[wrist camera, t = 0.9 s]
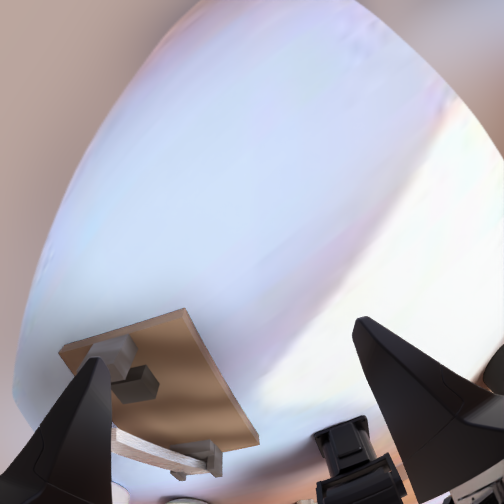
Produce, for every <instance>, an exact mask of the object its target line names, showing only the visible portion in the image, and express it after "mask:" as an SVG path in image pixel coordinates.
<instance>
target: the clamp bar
mask: <svg viewBox="0 0 504 504" xmlns="http://www.w3.org/2000/svg"><path fill="white" fill-rule="evenodd" d="M111 452H113V453H116V454H118V455H121V456H124V457H127V458H130V459H133V460H136V461H139V462H143V463H146V464H149V465H153V466H156V467H160V468H164V469H167V470H171V471H175V472H180V473H184V474H185V475H194V474H203V473H210V472H209V471H208V470H207V461H206V462H204V461H200V460H197V459H194V458H191V457H188V456H185V455H182V454H179V453H176V452H173V451H171V450H168V449H165V448H162V447H160V446H157V445H155V444H152V443H150V442H147V441H145V440H143V439H140V438H138V437H136V436H133V435H131V434H129V433H127V432H124V431H122V430H120V429H118V428H112V431H111Z"/></svg>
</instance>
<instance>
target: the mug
mask: <svg viewBox="0 0 504 504" xmlns="http://www.w3.org/2000/svg"><path fill="white" fill-rule="evenodd" d="M483 381H484V383H485V384H486V385H487V386H488V387H489V388H490V389H491V391H492V392H493V393H494V394H497V395H503V396H504V344H503V345H502V346H501V347H500V348H499V350H498V351H497V352H496V353H495V355H494V356H493V357H492V359H491V360H490V362H489V364H488V366H487V367H486V370H485V372H484V376H483Z"/></svg>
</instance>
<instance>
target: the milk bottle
mask: <svg viewBox="0 0 504 504" xmlns="http://www.w3.org/2000/svg"><path fill="white" fill-rule="evenodd" d="M111 483H112V503H113V504H129V498H130V494H129V492H128V491H127V490H126V489H125V488H124V487H122V486H120V485H118V484H116V483H114V482H111Z"/></svg>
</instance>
